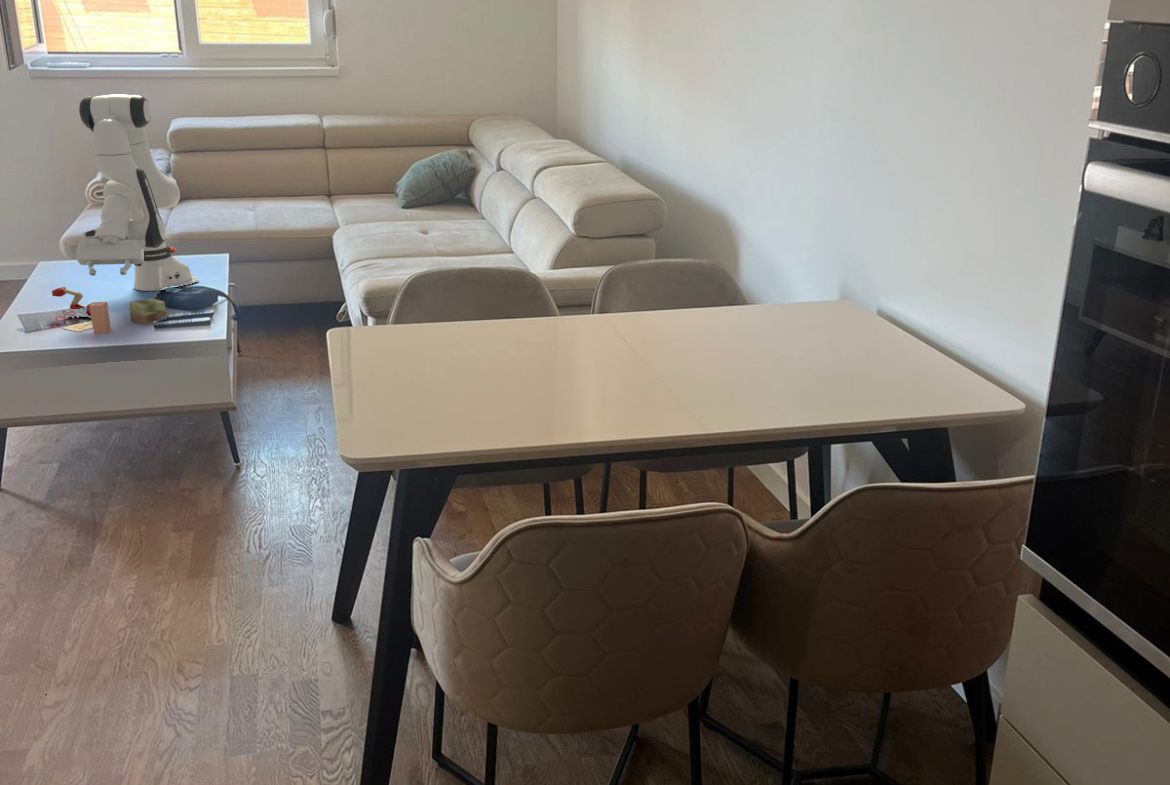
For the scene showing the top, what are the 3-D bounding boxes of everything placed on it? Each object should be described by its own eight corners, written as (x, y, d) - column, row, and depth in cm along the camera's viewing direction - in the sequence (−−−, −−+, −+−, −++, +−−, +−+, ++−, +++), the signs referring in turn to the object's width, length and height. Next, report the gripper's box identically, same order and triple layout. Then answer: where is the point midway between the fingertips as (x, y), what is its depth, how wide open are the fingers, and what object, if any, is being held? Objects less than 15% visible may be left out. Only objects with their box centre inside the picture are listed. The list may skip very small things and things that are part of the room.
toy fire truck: (96, 319, 346) (91, 290, 343) (55, 318, 347) (50, 289, 344) (101, 316, 349) (96, 287, 346) (61, 315, 351) (56, 286, 347)
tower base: (154, 315, 350) (151, 297, 348) (167, 319, 345) (164, 302, 343) (131, 320, 344) (128, 302, 342) (143, 325, 340) (141, 306, 338)
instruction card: (89, 320, 344) (89, 320, 344) (106, 324, 340) (105, 323, 340) (61, 328, 336) (61, 327, 336) (78, 332, 332) (78, 331, 332)
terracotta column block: (98, 330, 335) (93, 302, 331) (111, 329, 335) (106, 301, 332) (93, 333, 331) (89, 305, 328) (107, 333, 331) (102, 305, 328)
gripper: (149, 242, 349) (144, 278, 343) (84, 243, 347) (78, 280, 341) (143, 231, 343) (138, 268, 337) (77, 232, 341) (71, 269, 335)
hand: (107, 274), depth 339 cm, fingers open, 8 cm apart
